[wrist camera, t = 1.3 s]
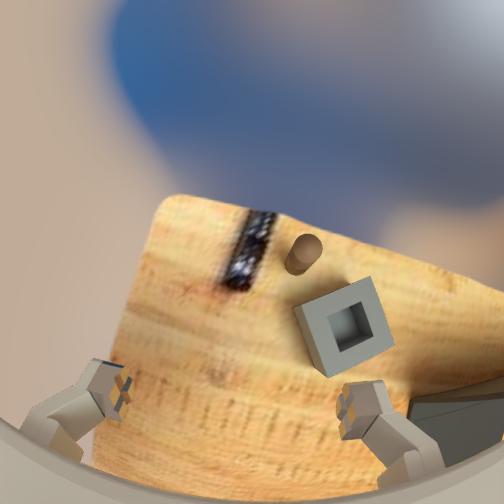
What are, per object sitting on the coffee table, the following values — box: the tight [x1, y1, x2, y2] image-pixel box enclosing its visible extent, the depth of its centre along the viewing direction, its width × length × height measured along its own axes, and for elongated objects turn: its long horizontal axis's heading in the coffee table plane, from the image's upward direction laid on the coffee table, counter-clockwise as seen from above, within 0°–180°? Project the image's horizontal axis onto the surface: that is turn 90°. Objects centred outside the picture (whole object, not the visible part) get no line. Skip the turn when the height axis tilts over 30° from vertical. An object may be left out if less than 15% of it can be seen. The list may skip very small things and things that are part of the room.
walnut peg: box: [285, 234, 323, 276], centre depth 38 cm, size 4×4×10 cm
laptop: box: [407, 376, 504, 468], centre depth 21 cm, size 33×35×26 cm
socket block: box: [293, 276, 395, 378], centre depth 36 cm, size 10×10×8 cm
